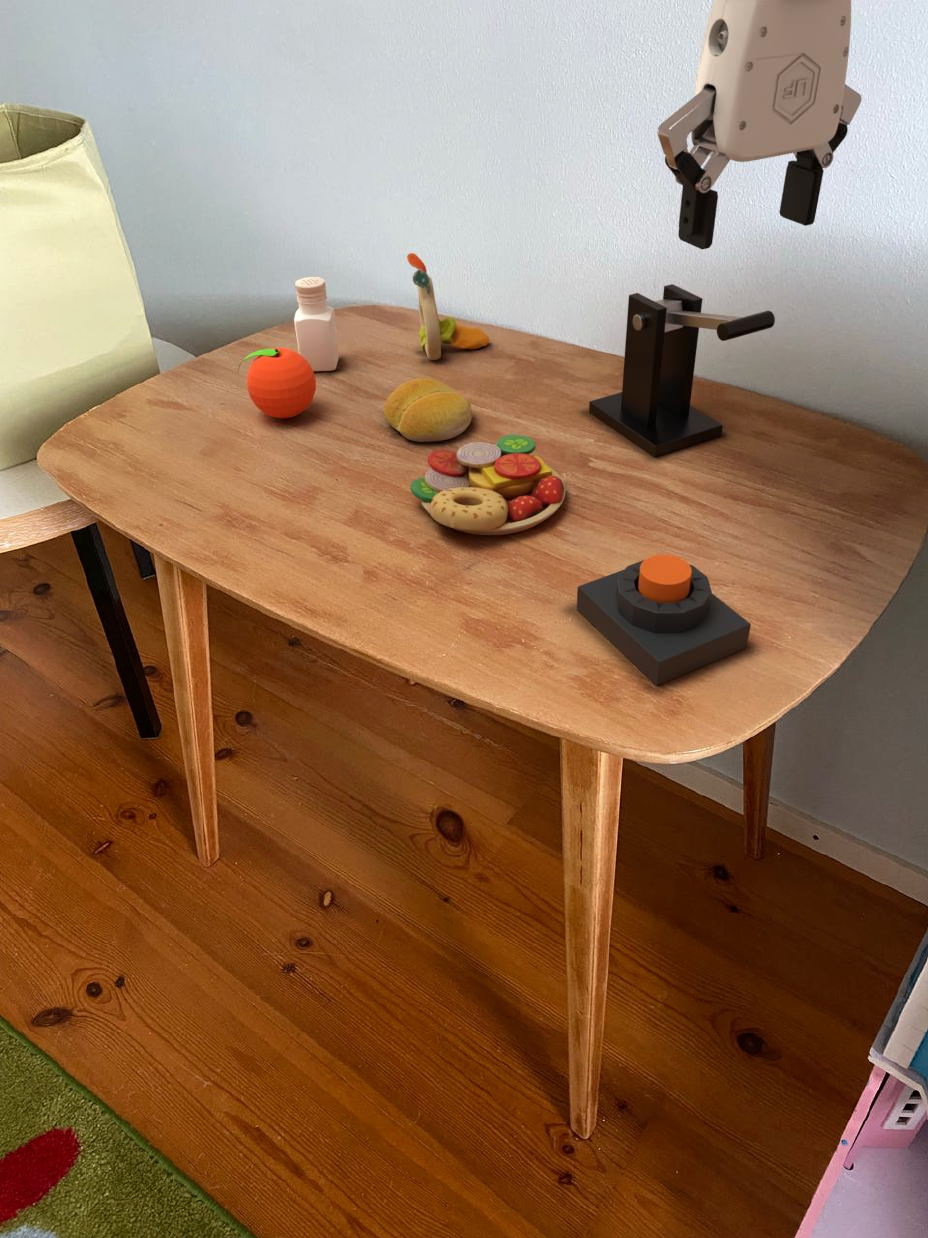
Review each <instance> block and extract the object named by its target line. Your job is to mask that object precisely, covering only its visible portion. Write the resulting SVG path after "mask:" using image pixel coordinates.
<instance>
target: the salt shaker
mask: <svg viewBox="0 0 928 1238" xmlns="http://www.w3.org/2000/svg"><path fill="white" fill-rule="evenodd" d="M294 285H295V292H296V301H297V302H298V307H299V308H298V309H297V310H296V311H295V315H294V318H293V322H294V329H295V335H296V342H297V349H298V353H299V354H300V355H301V356H302V357H304V358H305V359H306V360H307V361H308V362H309V364H310V366H311V367H312V369H313V372H332V371H335V370H336V369H337V365H338V362H339V359H340V346H339V340H338V339H339V337H338V331H337V322H336V314H335V309H334V307H332V306H329V305H328V301H327V299H328V296H327V295H328V294H327V287H326V281H325V279H324V278H321V277H320V276H306V277H302V278H300V279H297V280H296V281H295V282H294Z"/></svg>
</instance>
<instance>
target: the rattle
mask: <svg viewBox="0 0 928 1238" xmlns="http://www.w3.org/2000/svg"><path fill="white" fill-rule="evenodd" d="M406 260H407V262H408V264H409V265H410V266H411V267H413V268H415V269H416V271H414V273H413V275H412V281H413V282H412V283H413V284H414V285H415V286H417V292H418V299H417V300H418V313H419V322H420V330H419V331H418V335H419V339H420V346H421V350H422V351H424V352H425V353H426V356H427V359H428V360H429V361H438V360H440V359H441V356H442V345H443V346H451V347H454V348H458V349H459V350H465V349H466V350H467V349H469V350H475V349H480V348H482V347H486V346H488V343H489V342H490V337H489V336H488V334H486V333H485V332H484V331H483V330H481V329H480V328H478V327H477V326H476V327H475V326H472V327H467V326H465V325H461V324H457V323H456V320H455V319H454V317H453V316H452V317H451V316H448V317H446V318H444V319H441V320H440V318H439V313H438V308H437V303H436V297H435V290H434V284H433V283H434V282H433V279H432V278H431V277H430V276H429V275H428V272H427V267H426V264H425V263H424V261H422V259H421V258H420V257H419V256H418V255H417V254H416V253H414V252H410V253H408V254H407V255H406Z"/></svg>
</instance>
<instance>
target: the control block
mask: <svg viewBox="0 0 928 1238" xmlns="http://www.w3.org/2000/svg"><path fill="white" fill-rule="evenodd" d="M644 560H645V559H642V560H639V561H637V562H634V563H632V564H629V565H627V566H626V567H625V568H624V569H622V570H619V571H616V572H614V573H611V574H608V575H604V576H603V577H599V578H597V579H595V580H591V581H589V582H586V583H583V584H581V585H578V586H577V591H576V592H577V593H576V610H577V611H578V613H580V614H581V615H582V616H583V617H584V618H585V619H586V620H587V621H588V622H589V623H590V624H591V625H592V626H593V627H594V628H596V630H597V631H599V632H600V633H601V635H602V636H604V637H605V638H606V639H607V640H608V641H609V642H610V643H611V644H612V645H613V646H614V647H615V648H616V649H617V650H619V652H621V653H622V654H623V656H625V657H626V658H627V659H628V660H629V661H630V662H631V663H632V664H633V665H634V666H635V667H636V668H637V669H638V670H639V671H640V672H641V673H642V674H644V676H646V677H647V678H648V679H649V680H650V681H651V682H652V683H653V684H654V685H655V686H660V685H662V684H665V683H667V682H669V681H671V680H674V679H676V678H678V677H681V676H684V675H686V674H688V673H691V672H693V671H695V670H697V669H700V668H703V667H704V666H707V665H709V664H711V663H714V662H716V661H718V660H721V659H723V658H726V657H728V656H730V655H732V654H735V653H738V652H740V651H742V650H745V649H747V647H748V643H749V637H750V633H751V632H750V631H751V628H752V627H751V626H752V624H751V623H750V622H749V621H747V619H745V618H744V617H743V616H742V615H740V614H739V613H738V612H736V611H735V610H734V609H733V608H732V607H730V606H729V605H728V604H726V602H724V601H723V600H721V599H720V598H719V597H718V596H717V595H715V593H713V592H712V588H711V584H710V580H709V577H708V576H707V575H706V574H705V573H703V572H702V571H700V570H699V569H698V568H697V567H696V566H694V565H692V564H689V563H688V564H689V565H690V567H691V569H692V575H691V582H690V590H689V594H688V596H687V597H686V598H685V599H684V600H682V601H679V602H677V603H659V602H656V601H653V600H649V599H646V598H645V597H643V596H642V595H641V593H640V592H639V589H638V584H639V573H640V566H641V564H642V562H643V561H644Z"/></svg>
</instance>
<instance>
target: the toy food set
mask: <svg viewBox="0 0 928 1238" xmlns="http://www.w3.org/2000/svg"><path fill="white" fill-rule="evenodd" d="M535 450H536V442H535V440H534V439H532V437H529V436H526V435H521V434H509V435H505V436H502V437H501V438H499V439H498V440H497V442H496V444H492V443H491V442H484V441H483V442H482V441H477V442H470V443H465V444H464V445H462V446H459V448H458V449H457V451H456V452H455V451H452V450H447V449H439V450H434V451H432V452H430V453H428V456H427V464H428V466H429V467H430V469H429V470H427V472H426V473H425V474H424V477H419V478H415V479H414V480H412V482H411V483H410V487H409V490H410V492H411V494H412V495H413V496H414V497H415V498H417V499H419V501H420V503H421V505H422V507H423V508H424V509H425V511H426V512H427V513H428V514H429V515H430V516H431V518H432V519H433V520H434V521H436V522H437V523H438V524H440V525H442V526H445V527H448V528H451V529H454V530H456V531H459V532H463V533H467V534H472V535H479V536H504V535H511V534H515V533H519V532H523V531H526V530H529V529H531V528H534V527H536V526H537V525H539V524H541V523H542V522H544V521H545V520H547V519H548V518H550V517H551V516H552V515H554V513H556V512H557V511H558V509H559V508H560V507H561V506H562V504H563V503H564V499H565V497H566V485H565V481H564V480H563V478H562V477H561V475H560V474H559V473H558V472H557V471H556V470H555V469H554V468H552V467H551V466H549V465H548V464H546V463H545V462H544V460H542V458H541V457H540V456H533V455H531V454H532V453H533V452H534V451H535Z"/></svg>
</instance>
